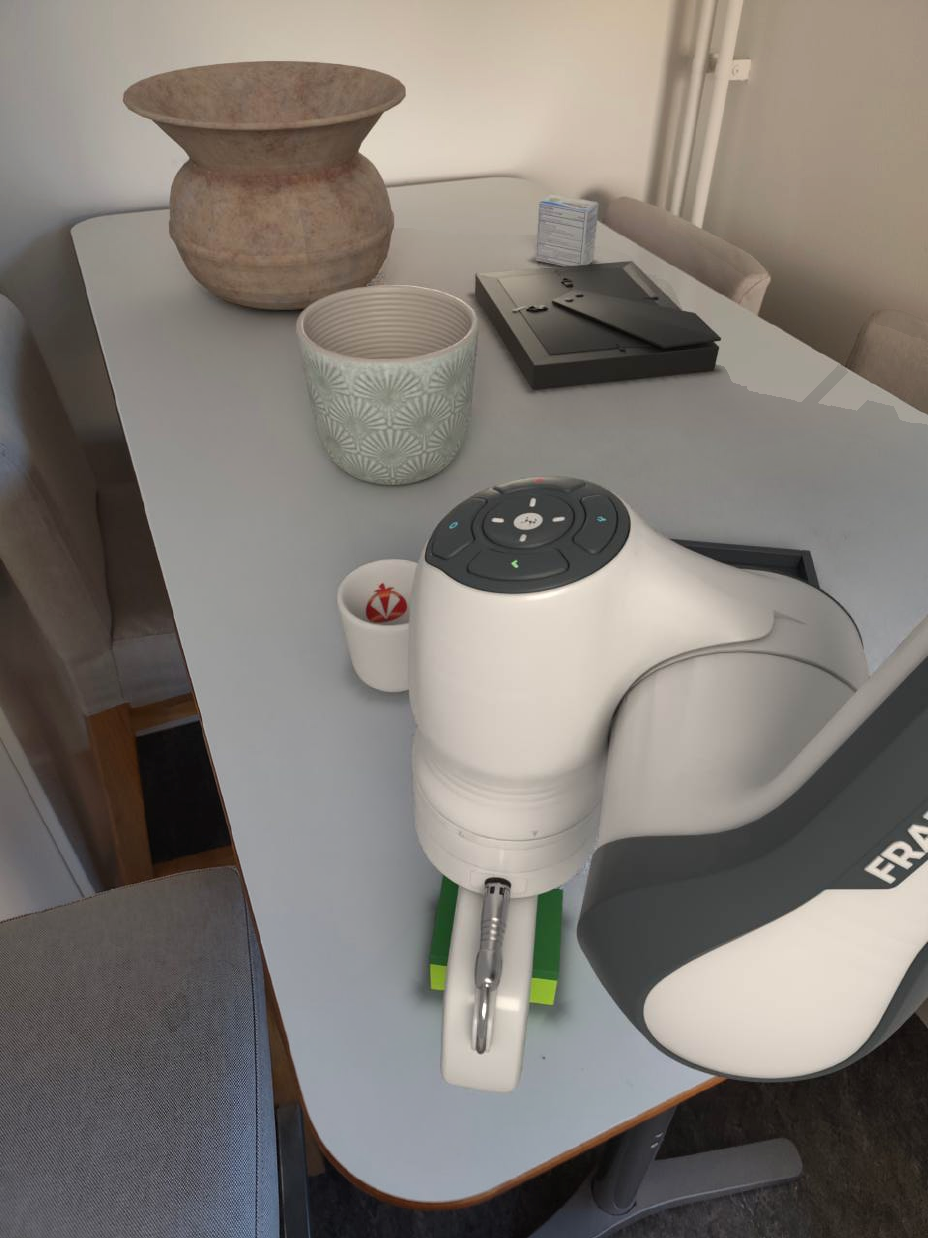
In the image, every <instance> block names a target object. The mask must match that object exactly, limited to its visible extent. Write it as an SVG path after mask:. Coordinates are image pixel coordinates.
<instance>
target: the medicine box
mask: <svg viewBox="0 0 928 1238" xmlns="http://www.w3.org/2000/svg"><path fill="white" fill-rule="evenodd" d="M599 207H600V205H599V203H598V202H596V201H591V200H587V199H581V198H576V197H570V196H564V195H558V194H550V195H548V196H547V197H544V198H543V199H542V200H541V201H539V202H538V209H537V210H538V213H537V227H536V229H537V230H536V244H535V245H536V247H535V261H536V262H541V263H546V264H550V265H554V266H559V267H565V266H577V265H589V264H592V262H593V261H594V257H595V244H596V235H597V226H598V225H597V224H598V214H599Z"/></svg>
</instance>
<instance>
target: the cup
mask: <svg viewBox="0 0 928 1238" xmlns="http://www.w3.org/2000/svg"><path fill="white" fill-rule="evenodd" d="M417 564H418V561H417V562H416V561H413V560H409V559H402V558H383V559H378V560H374V561H370V562H366V563H365V564H362V565H359V566H357V567H356V568H355V569H353V570H352V571H350V572H349V573H348V574H346V576H345V577H344V578H343V579H342V581H341V582H340V583H339V586H338V588H337V591H336V607H337V610H338V614H339V617H340V618H339V619H340V622H341V626H342V630H343V634H344V638H345V642H346V645H347V650H348V653H349V657H350V660H351V664H352V667H353V669H354V671H355V673H356V675H357V676H358V678H359V679H360V680H361V681H362V682H363V683H364V684H366V685H367V686H369V687H370V688H372V689H375V690H377V691H381V692H385V693H401V692H406V691H409V688H408V634H409V615H410V602H411V593H412V586H413V581H414V576H415V572H416V568H417Z"/></svg>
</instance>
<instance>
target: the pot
mask: <svg viewBox="0 0 928 1238" xmlns="http://www.w3.org/2000/svg"><path fill="white" fill-rule="evenodd" d="M406 96H407V90H406V86H405V85H404V84H403V83H402V82H401V80H400V79H397V78H396V77H394V76H392V75H390V74H388V73H384V72H381V71H378V70H376V69H370V68H366V67H362V66H361V67H360V66H355V65H350V64H349V65H348V64H342V63H331V62H320V61H303V60H302V61H301V60H299V61H298V60H261V61H260V60H259V61H239V62H238V61H237V62H226V63H214V64H207V65H198V66H193V67H187V68H180V69H175V70H171V71H166V72H162V73H158V74H155V75H152V76H148V77H146V78H142V79H141V80H139V81H137V82H135V83H133V84H130V85H129V87H128V88H126V89H125V90H124V92H123V95H122V102H123V104H124V105H125V107H126V108H127V110H129V111H131V112H132V113H134V114H136V115H138V116H140V117H142V118H145V119H148V120H151V121H152V122H153V123H154V124H155V125H157V127H158V128H159V129H161V130H162V132H163V133H165V134H166V135H167V136H168V137H169V138H170V139H171V140H173V142H175V143H176V144H177V145H178V146H179V147H180V148H181V149H182V150H183V151H184V152H185V153H186V155H187V157H188V159H187V160H186V161H185V162H184V163H183V164H182V165H181V167H179V169H178V171H177V172H176V174H175V175H174V178H173V181H172V183H171V186H170V187H171V188H170V195H169V220H168V233H169V237H170V238H171V239H172V241H173V242H174V244H175V247H176V250H177V252H178V254H179V256H180V258H181V260H182V262H183V264H184V266H185V267H186V269H187V271H188V272H189V273H190V274H191V276H192V277H193V278H194V279H195V281H197V282H198V284H199V285H200V286H202V287H203V288H205V289H206V290H207V291H209V292H210V293H212V294H213V295H215V296H216V297H218V298H220V299H221V300H224V301H226V302H230V303H233V304H236V305H239V306H243V307H248V308H253V309H257V310H258V309H259V310H267V311H268V310H269V311H295V310H304V309H306V308H307V307H308V306H309V305H311V304H312V303H314V302H315V301H317V300H319V299H321V298H323V297H326V296H328V295H331V294H334V293H337V292H340V291H344V290H348V289H353V288H359V287H366V286H367V285H369V284H370V283H371V282H372V281H373V280H374V279H375V278H376V277H377V275H378V274H379V272H380V270H381V268H382V267H383V265H384V263H385V261H386V259H387V257H388V254H389V249H390V246H391V241H392V239H391V238H392V234H393V230H394V228H395V213H394V211H393V210H392V205H391V199H390V196H389V193H388V192H389V191H388V189H387V186H386V183H385V181H384V179H383V177H382V175H381V174H380V171H379V170H378V168H377V167H376V165H375V163H374V162H372V161H371V160H370V159H369V158H368V157H367V156H365V155H364V154H362V153H361V152H360V148H361V146H362V144H363V142H364V141H365V139H367V138H366V137H368V135H369V133H371V131H372V130H373V128H374V127H375V125H376V124H377V123H378V122H379V120H380V119H381V117H382V116H383V114H385V112H388V111H390V110H391V109H393V108H395V107H397V106H398V105H400V104H401V103H402V102H403V101H404V99H405V98H406Z"/></svg>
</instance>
